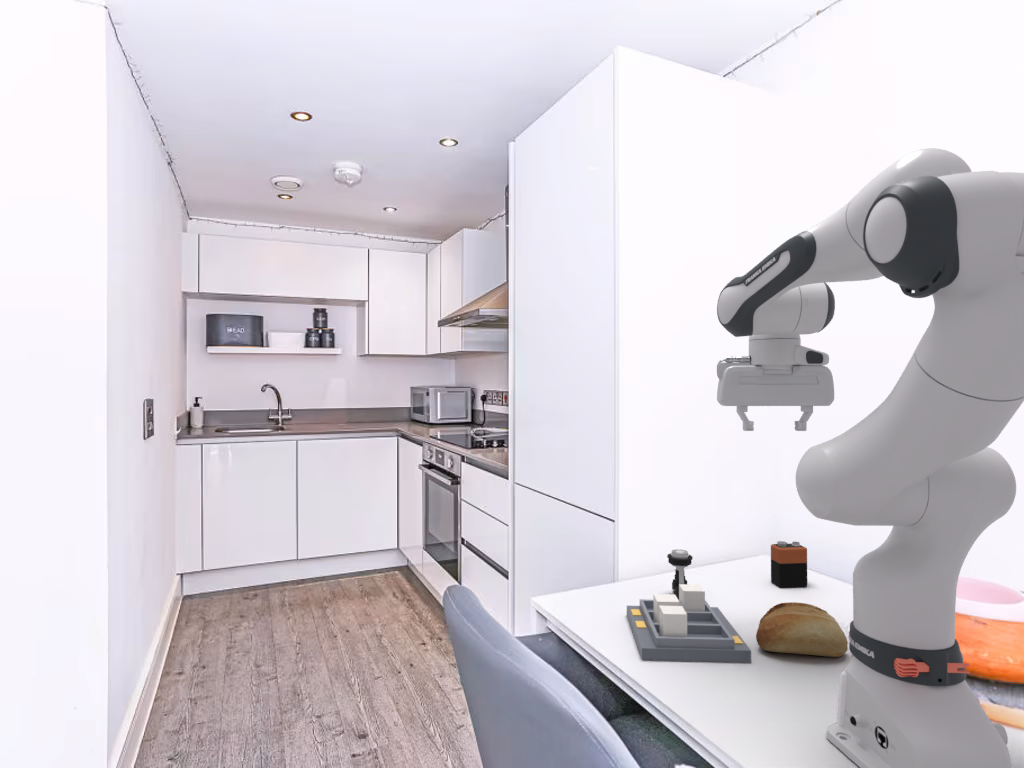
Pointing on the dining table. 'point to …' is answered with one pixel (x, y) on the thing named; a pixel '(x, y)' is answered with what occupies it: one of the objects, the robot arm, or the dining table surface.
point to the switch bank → (688, 637)
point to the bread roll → (801, 631)
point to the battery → (788, 565)
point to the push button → (679, 567)
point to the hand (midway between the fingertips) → (774, 430)
